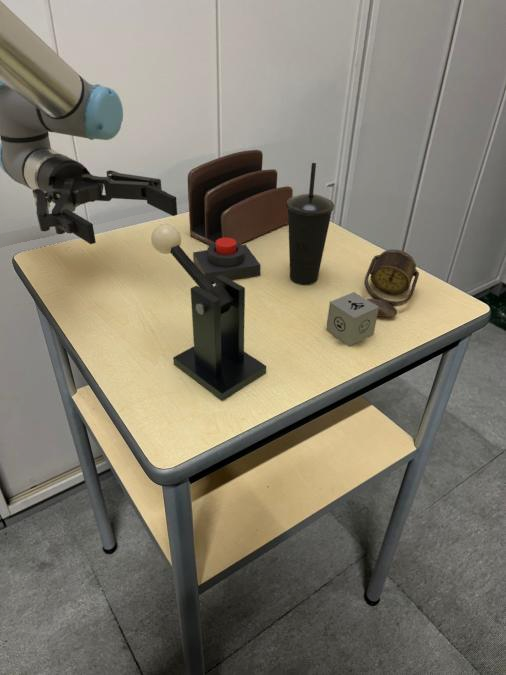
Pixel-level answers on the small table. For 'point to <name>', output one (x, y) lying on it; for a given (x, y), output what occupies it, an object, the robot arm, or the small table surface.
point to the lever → (187, 262)
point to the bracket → (219, 343)
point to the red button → (225, 246)
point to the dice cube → (352, 318)
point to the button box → (227, 263)
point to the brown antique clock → (391, 279)
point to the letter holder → (235, 198)
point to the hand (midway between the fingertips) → (135, 219)
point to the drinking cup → (307, 233)
